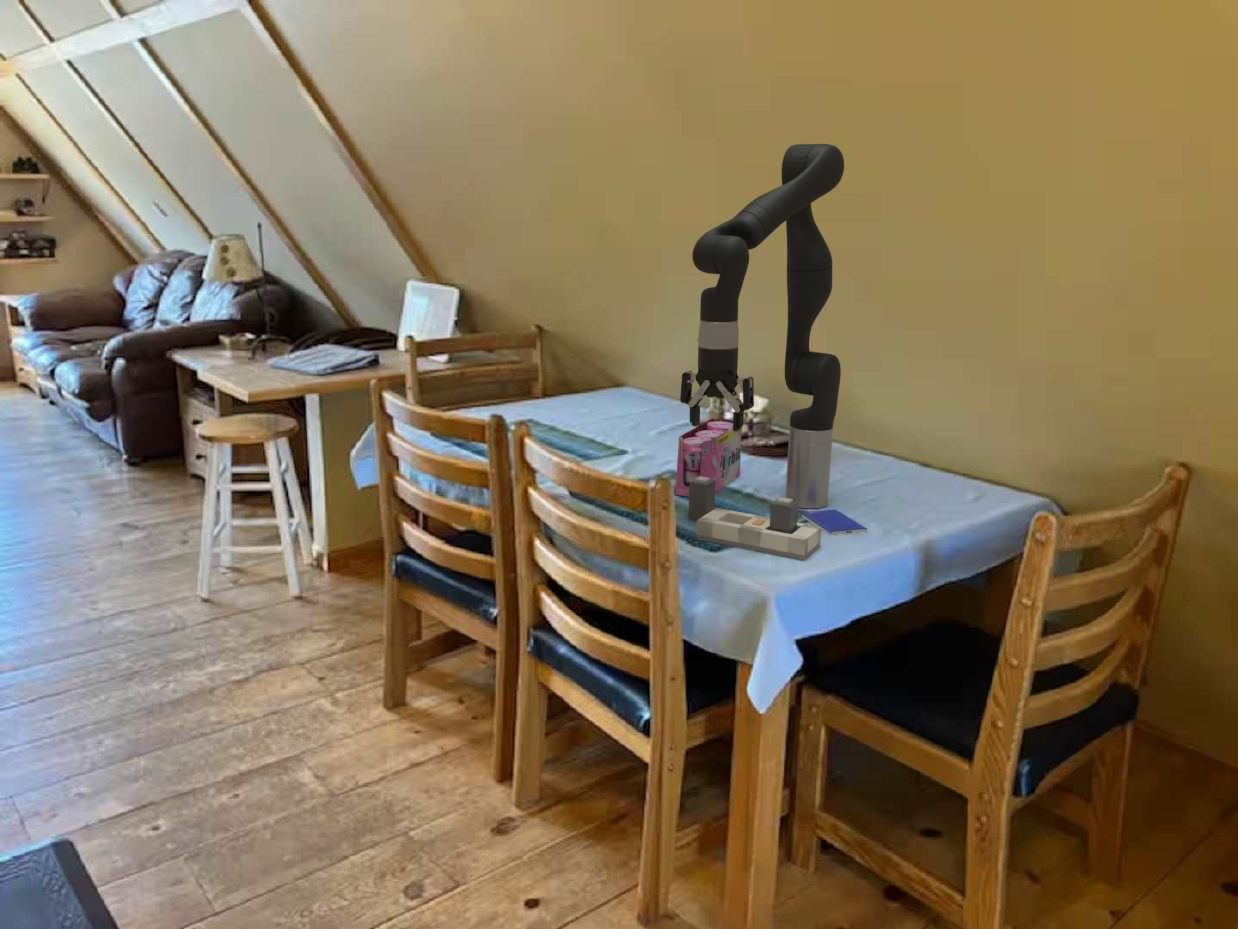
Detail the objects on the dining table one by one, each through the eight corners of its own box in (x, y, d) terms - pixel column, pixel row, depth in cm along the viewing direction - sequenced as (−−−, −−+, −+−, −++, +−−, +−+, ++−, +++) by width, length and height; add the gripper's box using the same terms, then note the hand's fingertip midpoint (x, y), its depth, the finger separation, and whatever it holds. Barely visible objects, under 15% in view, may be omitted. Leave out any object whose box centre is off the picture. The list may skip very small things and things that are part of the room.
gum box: (705, 502, 218) (708, 442, 214) (672, 497, 221) (674, 438, 218) (740, 475, 239) (743, 420, 235) (709, 471, 242) (711, 417, 239)
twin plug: (776, 537, 193) (778, 495, 190) (796, 541, 191) (798, 498, 188) (768, 543, 189) (771, 500, 187) (788, 547, 187) (791, 504, 185)
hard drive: (802, 512, 208) (830, 531, 197) (837, 508, 211) (867, 527, 199) (801, 519, 209) (830, 538, 197) (836, 515, 211) (866, 534, 200)
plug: (696, 513, 210) (698, 474, 207) (713, 517, 208) (715, 477, 205) (688, 518, 206) (689, 479, 204) (705, 522, 204) (707, 482, 202)
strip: (696, 539, 194) (697, 518, 193) (715, 526, 202) (716, 506, 201) (803, 560, 184) (805, 538, 182) (820, 546, 191) (821, 525, 190)
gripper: (761, 344, 186) (757, 428, 191) (692, 338, 193) (690, 419, 197) (746, 350, 180) (743, 436, 184) (675, 344, 186) (674, 427, 191)
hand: (715, 427), depth 191 cm, fingers open, 8 cm apart
